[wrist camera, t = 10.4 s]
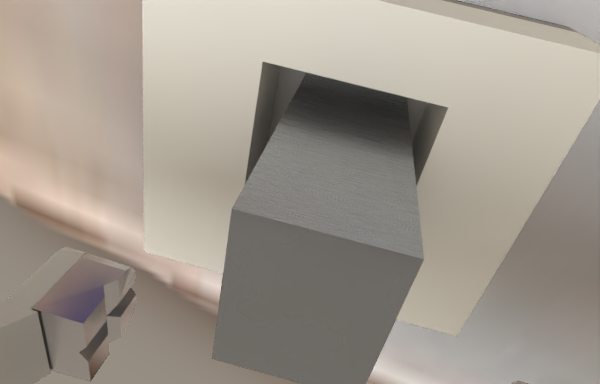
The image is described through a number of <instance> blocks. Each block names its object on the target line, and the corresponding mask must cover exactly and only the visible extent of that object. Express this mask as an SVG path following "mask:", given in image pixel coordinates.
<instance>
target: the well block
mask: <svg viewBox="0 0 600 384" xmlns="http://www.w3.org/2000/svg"><path fill="white" fill-rule="evenodd" d="M142 24H143V196H144V252H146V253H150V254H153V255H157V256H161V257H164V258H168V259H172V260H175V261H179V262H183V263H187V264H190V265H194V266H198V267H201V268H205V269H209V270H212V271H216V272H220V273H223V271H224V263H225V256H226V248H227V241H228V233H229V225H230V218H231V210H232V207H233V205H234V204H235V202H236V200H237V198H238V196H239V194H240V193H241V191H242V189H243V187H244V185H245V184H246V182H247V180H248V178H249V176H250V174H251V173H252V171H253V169H254V167H255V165H256V163H257V162H258V160H259V158H260V156H261V154H262V153H263V151H264V149H265V147H266V145H267V143H268V142H269V140H270V138H271V136H272V134H273V133H274V131H275V129H276V127H277V125H278V123H279V122H280V120H281V118H282V116H283V114H284V113H285V111H286V109H287V107H288V105H289V103H290V102H291V100H292V98H293V96H294V94H295V93H296V91H297V89H298V87H299V85H300V83H301V82H302V80H303V78H304V76H305V74H306V72H307V73H311V74H315V75H319V76H323V77H327V78H331V79H335V80H339V81H343V82H347V83H351V84H355V85H359V86H364V87H368V88H372V89H376V90H380V91H384V92H388V93H392V94H396V95H400V96H404V97H407V103H408V112H409V122H410V131H411V141H412V150H413V159H414V169H415V178H416V188H417V197H418V207H419V216H420V225H421V235H422V244H423V254H424V261H423V263H422V265H421V267H420V269H419V271H418V273H417V276H416V278H415V280H414V282H413V284H412V286H411V288H410V291H409V293H408V295H407V297H406V299H405V301H404V303H403V305H402V308H401V310H400V312H399V314H398V316H397V318H396V320H398V321H401V322H405V323H409V324H412V325H416V326H420V327H423V328H427V329H431V330H435V331H438V332H442V333H446V334H449V335H453V336H458V334H459V333H460V331H461V329H462V328H463V326H464V324H465V323H466V321H467V319H468V318H469V316H470V314H471V313H472V311H473V309H474V308H475V306H476V304H477V303H478V301H479V299H480V298H481V296H482V294H483V293H484V291H485V289H486V288H487V286H488V284H489V283H490V281H491V279H492V278H493V276H494V274H495V273H496V271H497V270H498V268H499V266H500V265H501V263H502V261H503V260H504V258H505V256H506V255H507V253H508V251H509V250H510V248H511V246H512V245H513V243H514V241H515V240H516V238H517V236H518V235H519V233H520V231H521V230H522V228H523V226H524V225H525V223H526V221H527V220H528V218H529V216H530V215H531V213H532V211H533V210H534V208H535V207H536V205H537V203H538V202H539V200H540V198H541V197H542V195H543V193H544V192H545V190H546V188H547V187H548V185H549V183H550V182H551V180H552V178H553V177H554V175H555V173H556V172H557V170H558V168H559V167H560V165H561V163H562V162H563V160H564V158H565V157H566V155H567V153H568V152H569V150H570V148H571V147H572V145H573V144H574V142H575V140H576V139H577V137H578V135H579V134H580V132H581V130H582V129H583V127H584V125H585V124H586V122H587V120H588V119H589V117H590V115H591V114H592V112H593V110H594V109H595V107H596V105H597V104H598V102H599V100H600V45H599V44H597V43H595V42H593V41H592V40H590V39H588V38H586V37H585V36H583V35H581V34H579V33H578V32H576V31H574V30H573V29H571V28H569V27H566V26H562V25H558V24H554V23H549V22H545V21H541V20H537V19H533V18H528V17H524V16H520V15H516V14H512V13H507V12H503V11H499V10H495V9H491V8H486V7H482V6H478V5H474V4H470V3H465V2H461V1H457V0H142Z"/></svg>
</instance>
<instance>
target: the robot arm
mask: <svg viewBox="0 0 600 384" xmlns="http://www.w3.org/2000/svg"><path fill="white" fill-rule="evenodd" d="M135 280H136V277H135V269H134V268H131V267H129V266H125V265H122V264H119V263H116V262H113V261H110V260H107V259H104V258H101V257H98V256H95V255H91V254H88V253H85V252H81V251H78V250H75V249H72V248H69V247H65V248H62V249H60V250H58V251H57V252H56V253H55V254H54V255H53V256H52V257H51V258H49V260H47V261H46V262H45V263H44V264H43V265H42V266H41V267H40V268H39V269H38V270H37V271H36V272H35V273H34V274H33V275H32V276H31V277H30V278H29V279H28V280H27V281H25V282H24V283H23V284H22V285H21V286H20V287H19V288H18V289H17V290H16V291H15V292H14V293H13V294H12V295H11V296H10V297H9V298H8V299H7V300H6V301H2V300H0V384H34V383H35V382H37V381H39V380H40V379H42V378H44V377H45V376H47V375H48V374H50V371H54V372H57V373H61V374H65V375H68V376H72V377H75V378H79V379H83V380H86V381H89V382H91V381H92V379H93V378H94V376H95V375H96V373H97V372H98V370H99V369H100V367H101V366H102V364H103V363H104V362H105V360H106V359H107V357H108V356H109V343H110V342H112V341H114V340H116V339H118V338H120V337H121V336H122V335H123V333H124V332H125V330H126V329H127V327H128V325H129V323H130V321H131V318H132V316H133V314H134V310H135V306H136V294H135V293H134V291H133V290H132V288H131V286H132V285H133V283H134V282H135ZM512 384H528V383H525V382H521V381H516V382H514V383H512Z"/></svg>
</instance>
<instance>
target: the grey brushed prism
mask: <svg viewBox="0 0 600 384" xmlns="http://www.w3.org/2000/svg"><path fill="white" fill-rule="evenodd" d="M423 261H424V254H423V244H422V235H421V225H420V216H419V207H418V197H417V188H416V178H415V169H414V159H413V150H412V141H411V131H410V122H409V112H408V103H407V97H404V96H400V95H396V94H392V93H388V92H384V91H380V90H376V89H372V88H368V87H364V86H359V85H355V84H351V83H347V82H343V81H339V80H335V79H331V78H327V77H323V76H319V75H315V74H311V73H307V72H306V74H305V76H304V78H303V80H302V82H301V83H300V85H299V87H298V89H297V91H296V93H295V94H294V96H293V98H292V100H291V102H290V103H289V105H288V107H287V109H286V111H285V113H284V114H283V116H282V118H281V120H280V122H279V123H278V125H277V127H276V129H275V131H274V133H273V134H272V136H271V138H270V140H269V142H268V143H267V145H266V147H265V149H264V151H263V153H262V154H261V156H260V158H259V160H258V162H257V163H256V165H255V167H254V169H253V171H252V173H251V174H250V176H249V178H248V180H247V182H246V184H245V185H244V187H243V189H242V191H241V193H240V194H239V196H238V198H237V200H236V202H235V204H234V205H233V207H232V210H231V218H230V225H229V233H228V241H227V248H226V256H225V263H224V271H223V279H222V286H221V294H220V301H219V309H218V317H217V324H216V333H215V340H214V347H213V355H212V359H215V360H218V361H222V362H225V363H229V364H233V365H236V366H240V367H243V368H247V369H251V370H254V371H258V372H261V373H265V374H268V375H272V376H276V377H279V378H283V379H286V380H290V381H293V382H297V383H301V384H366V382H367V380H368V378H369V376H370V374H371V372H372V369H373V367H374V365H375V363H376V361H377V359H378V357H379V355H380V352H381V350H382V348H383V346H384V344H385V342H386V340H387V337H388V335H389V333H390V331H391V329H392V327H393V325H394V323H395V320H396V318H397V316H398V314H399V312H400V310H401V308H402V305H403V303H404V301H405V299H406V297H407V295H408V293H409V291H410V288H411V286H412V284H413V282H414V280H415V278H416V276H417V273H418V271H419V269H420V267H421V265H422V263H423Z"/></svg>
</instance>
